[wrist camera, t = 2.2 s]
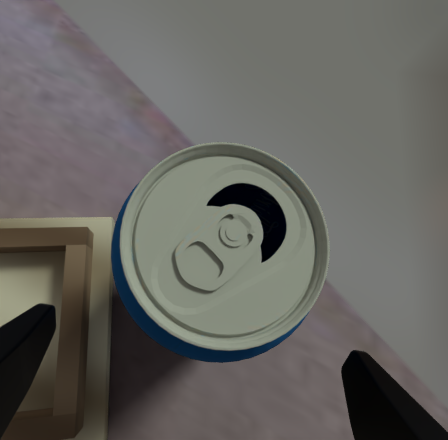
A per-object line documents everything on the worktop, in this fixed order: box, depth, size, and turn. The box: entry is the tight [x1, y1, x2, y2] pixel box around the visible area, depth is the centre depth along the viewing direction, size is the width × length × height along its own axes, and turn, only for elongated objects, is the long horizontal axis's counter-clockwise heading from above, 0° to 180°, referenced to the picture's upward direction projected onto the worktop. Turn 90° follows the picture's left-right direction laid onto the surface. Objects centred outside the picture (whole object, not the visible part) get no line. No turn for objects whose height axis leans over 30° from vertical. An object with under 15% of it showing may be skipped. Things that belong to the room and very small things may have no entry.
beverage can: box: [111, 142, 330, 363], centre depth 14 cm, size 6×6×12 cm
